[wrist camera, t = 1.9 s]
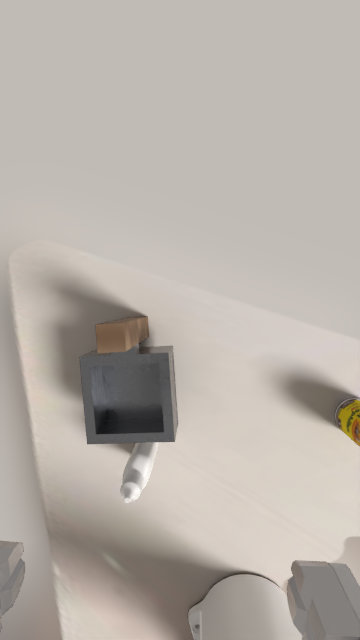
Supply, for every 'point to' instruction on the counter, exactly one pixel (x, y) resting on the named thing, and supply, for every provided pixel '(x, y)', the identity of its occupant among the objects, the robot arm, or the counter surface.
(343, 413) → the supplement bottle
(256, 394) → the counter surface
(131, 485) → the eye dropper bottle
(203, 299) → the counter surface
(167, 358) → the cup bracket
